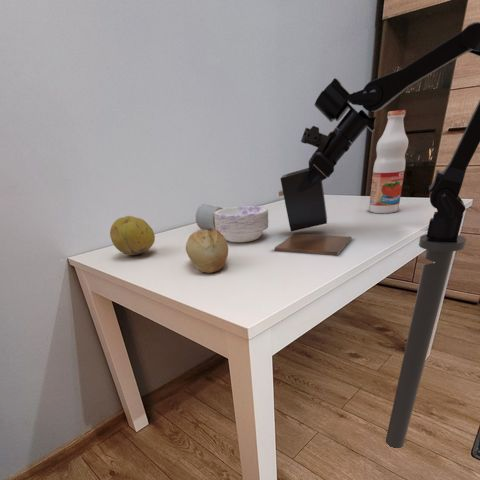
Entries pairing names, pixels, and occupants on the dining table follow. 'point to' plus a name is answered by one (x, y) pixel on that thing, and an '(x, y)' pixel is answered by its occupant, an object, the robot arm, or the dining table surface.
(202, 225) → the ceramic mug
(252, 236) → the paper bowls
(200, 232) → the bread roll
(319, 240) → the board
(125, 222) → the fruit
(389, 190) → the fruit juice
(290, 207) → the toaster
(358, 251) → the dining table surface
